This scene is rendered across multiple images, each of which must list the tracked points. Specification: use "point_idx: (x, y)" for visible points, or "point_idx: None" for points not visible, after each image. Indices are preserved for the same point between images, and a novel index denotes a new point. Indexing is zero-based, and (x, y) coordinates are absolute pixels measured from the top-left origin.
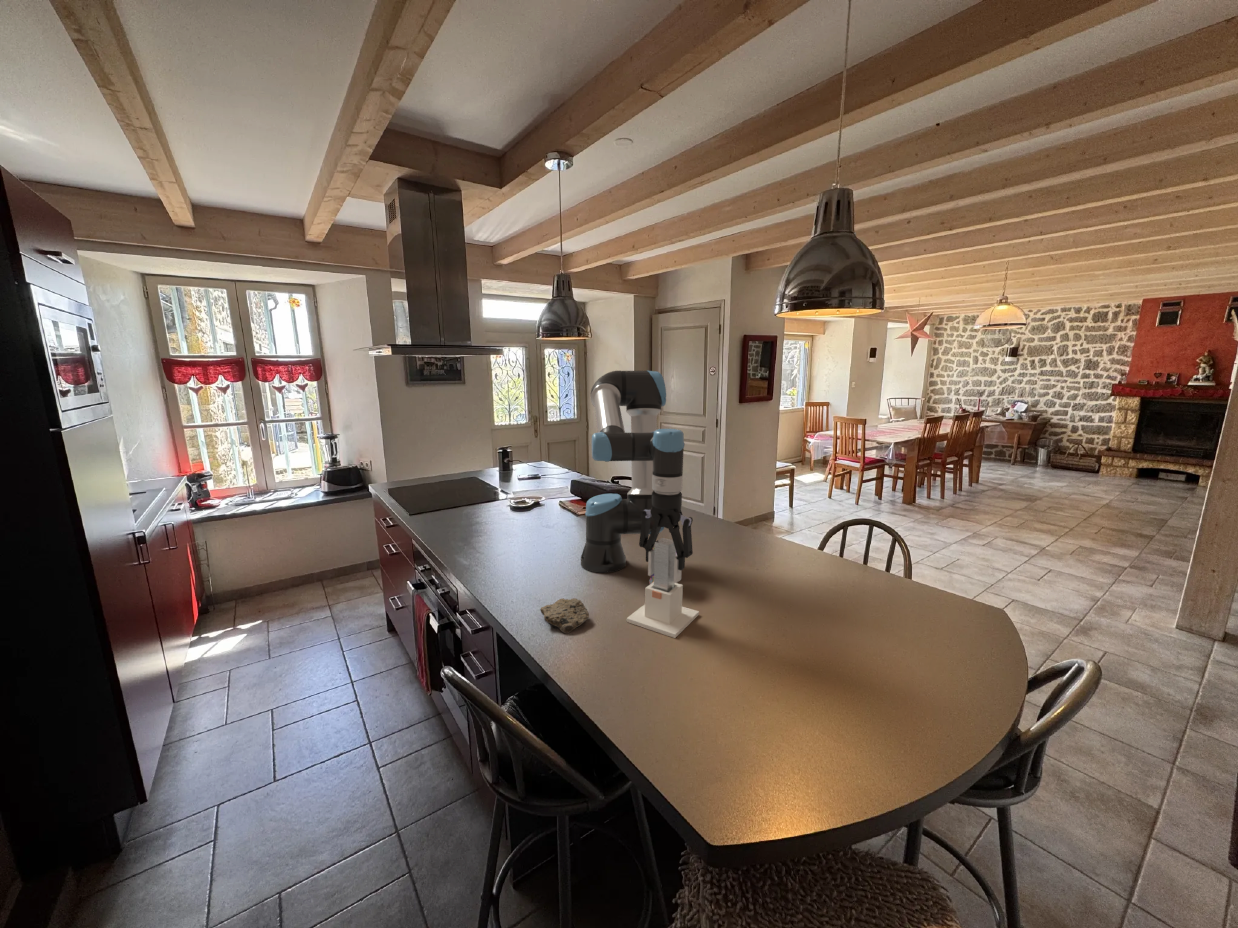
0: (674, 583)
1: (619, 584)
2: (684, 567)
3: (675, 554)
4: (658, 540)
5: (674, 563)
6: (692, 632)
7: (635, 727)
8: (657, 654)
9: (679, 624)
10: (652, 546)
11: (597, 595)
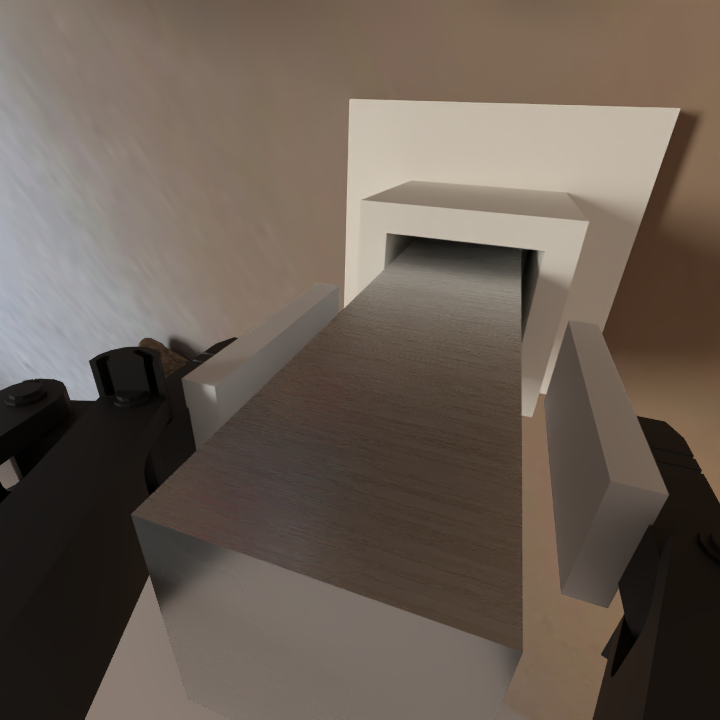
0: (520, 274)
1: (121, 14)
2: (678, 433)
3: (520, 411)
4: (183, 644)
5: (557, 532)
6: (655, 320)
7: (570, 708)
8: (537, 496)
9: (580, 316)
10: (158, 432)
11: (140, 200)
